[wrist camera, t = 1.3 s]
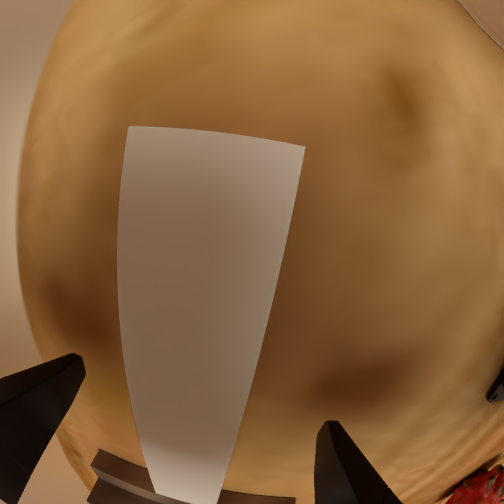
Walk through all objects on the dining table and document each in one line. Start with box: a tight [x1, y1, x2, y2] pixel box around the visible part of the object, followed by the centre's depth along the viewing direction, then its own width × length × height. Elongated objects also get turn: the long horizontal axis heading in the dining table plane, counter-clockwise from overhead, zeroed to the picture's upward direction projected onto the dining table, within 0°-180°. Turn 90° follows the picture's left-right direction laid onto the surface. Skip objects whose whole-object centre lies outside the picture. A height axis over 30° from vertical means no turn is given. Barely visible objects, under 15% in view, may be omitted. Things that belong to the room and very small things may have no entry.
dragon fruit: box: [445, 464, 504, 504], centre depth 12 cm, size 8×8×12 cm
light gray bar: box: [117, 126, 305, 504], centre depth 8 cm, size 3×16×4 cm, turn 170°
